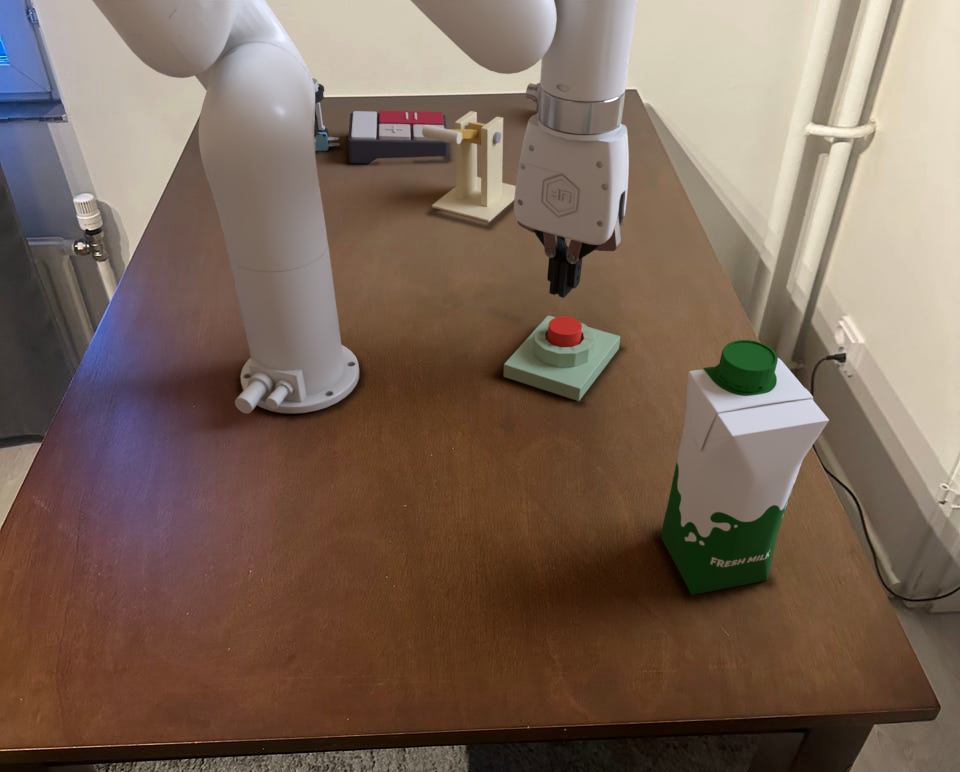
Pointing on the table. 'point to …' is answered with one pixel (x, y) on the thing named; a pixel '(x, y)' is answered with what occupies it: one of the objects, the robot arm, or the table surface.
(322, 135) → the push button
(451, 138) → the switch lever
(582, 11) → the robot arm
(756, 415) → the milk carton
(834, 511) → the table surface
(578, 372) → the switch box
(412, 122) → the calculator
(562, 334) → the red button
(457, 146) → the switch bracket
